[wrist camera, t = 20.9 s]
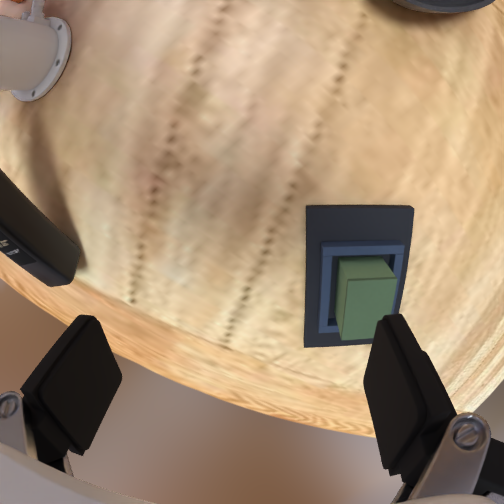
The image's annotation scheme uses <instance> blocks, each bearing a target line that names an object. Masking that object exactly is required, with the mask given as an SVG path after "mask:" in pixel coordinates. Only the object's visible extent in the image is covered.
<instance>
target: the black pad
mask: <svg viewBox="0 0 504 504" xmlns="http://www.w3.org/2000/svg"><path fill="white" fill-rule="evenodd" d="M413 219H414V208H413V207H411V206H402V205H311V206H306V289H305V322H304V348H308V347H331V346H348V345H362V344H372V343H373V339H374V338H368V339H355V340H341V337H340V332H339V328H338V324H337V320H336V316H335V312H334V308H335V296H336V283H337V269H338V257H365V256H381V257H382V258H383V259H384V261H385V262H386V264H387V265H388V266H389V268H390V269H391V271H392V272H393V273H394V275H395V276H396V278H397V284H396V290H395V296H394V301H393V306H392V311H391V314H399V309H400V304H401V299H402V294H403V289H404V284H405V278H406V272H407V266H408V259H409V252H410V245H411V237H412V228H413Z"/></svg>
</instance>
